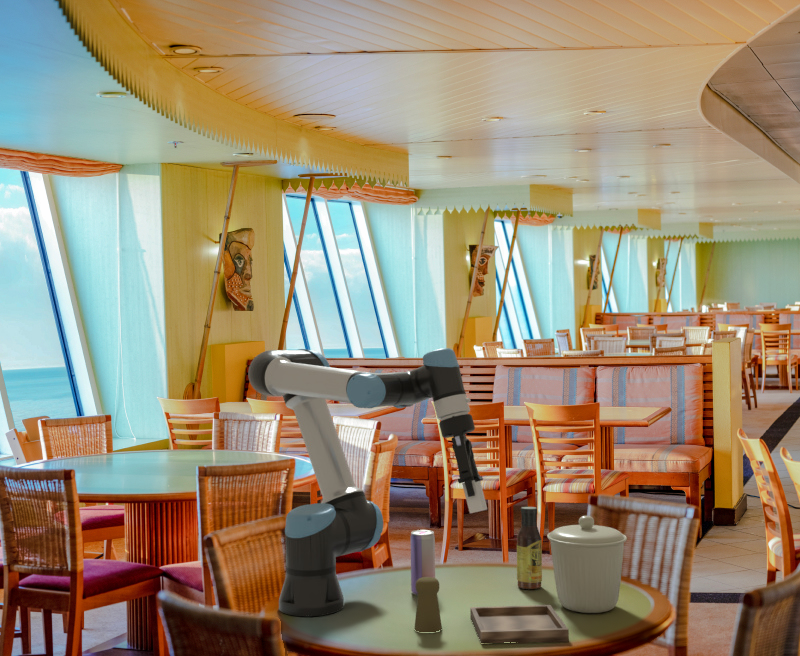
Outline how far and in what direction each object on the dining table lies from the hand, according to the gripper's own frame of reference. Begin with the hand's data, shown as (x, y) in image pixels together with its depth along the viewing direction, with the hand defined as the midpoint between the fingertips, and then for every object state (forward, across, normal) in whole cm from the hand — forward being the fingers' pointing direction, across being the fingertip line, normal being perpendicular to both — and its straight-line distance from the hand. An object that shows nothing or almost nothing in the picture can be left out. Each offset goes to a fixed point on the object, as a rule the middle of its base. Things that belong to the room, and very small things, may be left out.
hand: (479, 511), depth 200 cm
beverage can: (+16, +28, +21) cm, 39 cm away
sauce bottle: (+21, +37, -4) cm, 42 cm away
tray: (+26, +2, -2) cm, 26 cm away
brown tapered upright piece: (+22, 0, +17) cm, 27 cm away
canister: (+27, +20, -17) cm, 38 cm away
